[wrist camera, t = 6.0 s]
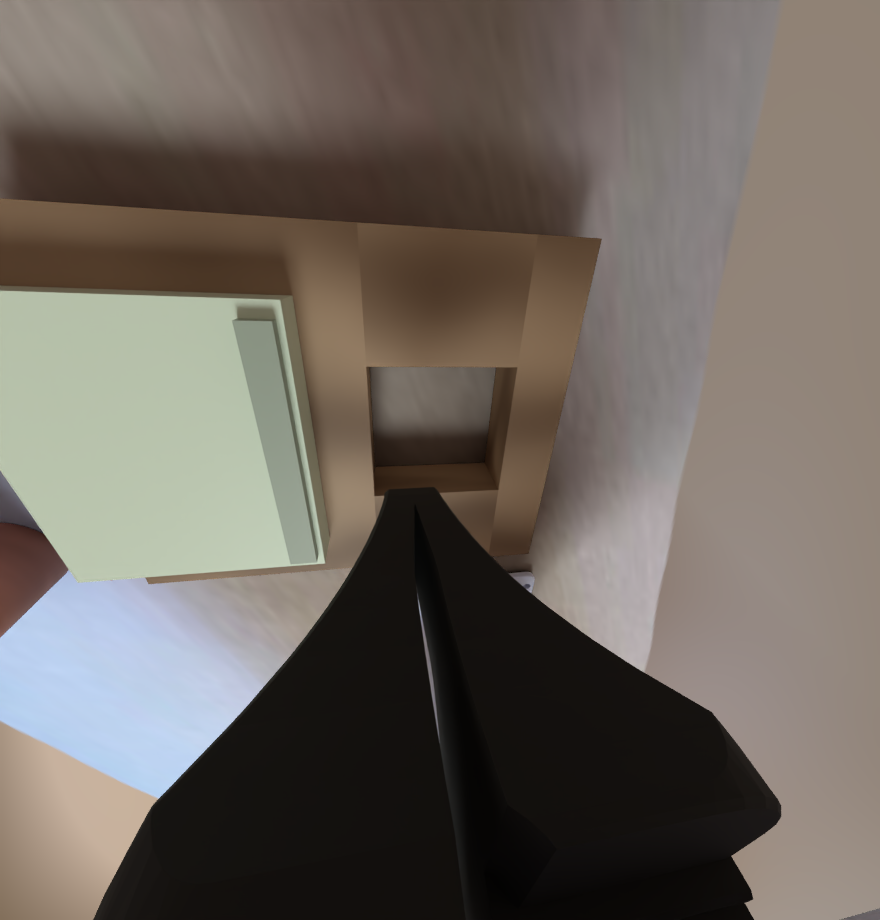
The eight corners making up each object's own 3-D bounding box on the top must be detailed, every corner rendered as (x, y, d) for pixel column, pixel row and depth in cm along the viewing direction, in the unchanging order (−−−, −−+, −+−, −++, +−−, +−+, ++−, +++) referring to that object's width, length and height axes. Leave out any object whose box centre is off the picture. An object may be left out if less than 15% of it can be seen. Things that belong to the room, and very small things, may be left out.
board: (513, 522, 20) (528, 553, 18) (177, 544, 17) (148, 583, 15) (566, 242, 13) (601, 238, 11) (26, 208, 11) (-65, 194, 8)
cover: (329, 538, 16) (323, 570, 14) (105, 553, 14) (69, 591, 13) (292, 295, 11) (276, 301, 9) (-57, 283, 9) (-151, 287, 8)
